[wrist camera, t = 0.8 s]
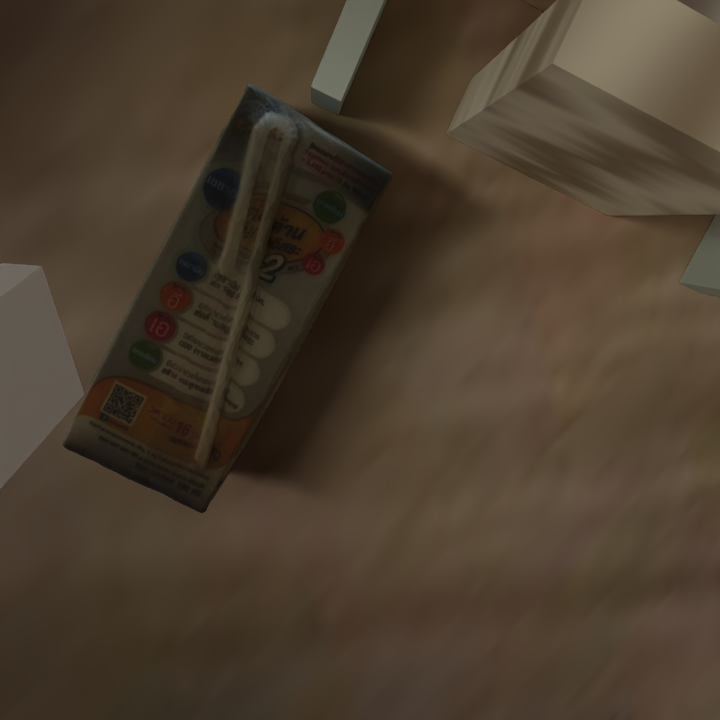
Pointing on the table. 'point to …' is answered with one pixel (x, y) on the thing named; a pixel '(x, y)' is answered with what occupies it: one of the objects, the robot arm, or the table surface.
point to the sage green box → (340, 64)
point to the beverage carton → (227, 301)
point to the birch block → (606, 106)
